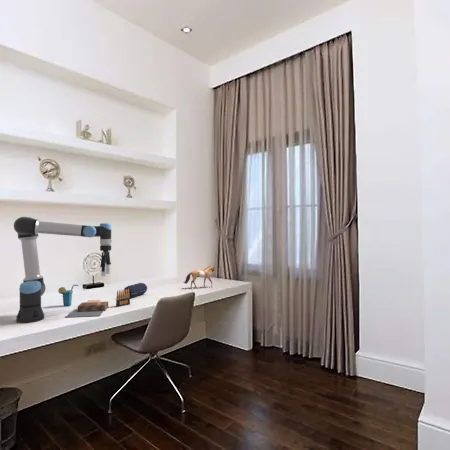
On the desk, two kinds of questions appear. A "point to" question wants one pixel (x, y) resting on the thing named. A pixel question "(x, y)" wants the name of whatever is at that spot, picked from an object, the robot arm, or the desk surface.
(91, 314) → the mat
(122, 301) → the ammunition clip
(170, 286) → the desk surface
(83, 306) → the deck
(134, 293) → the portable speaker
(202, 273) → the horse figurine
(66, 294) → the cup
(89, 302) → the coaster
